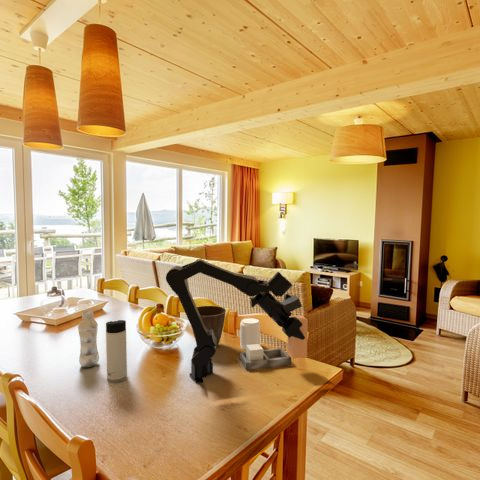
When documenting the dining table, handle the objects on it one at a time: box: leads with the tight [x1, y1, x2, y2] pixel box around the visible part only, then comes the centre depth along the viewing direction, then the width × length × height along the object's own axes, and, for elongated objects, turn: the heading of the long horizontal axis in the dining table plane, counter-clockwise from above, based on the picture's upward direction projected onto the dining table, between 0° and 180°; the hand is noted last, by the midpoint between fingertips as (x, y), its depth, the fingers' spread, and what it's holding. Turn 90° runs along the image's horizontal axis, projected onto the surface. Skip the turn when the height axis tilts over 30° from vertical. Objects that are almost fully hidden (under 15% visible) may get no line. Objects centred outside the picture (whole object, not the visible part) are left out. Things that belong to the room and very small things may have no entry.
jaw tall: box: [286, 315, 309, 359], centre depth 115 cm, size 5×5×13 cm
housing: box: [236, 347, 295, 373], centre depth 122 cm, size 19×11×4 cm, turn 105°
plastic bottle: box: [77, 309, 100, 368], centre depth 120 cm, size 6×7×20 cm
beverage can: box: [239, 317, 261, 351], centre depth 136 cm, size 8×8×12 cm
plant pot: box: [191, 305, 227, 349], centre depth 136 cm, size 15×15×16 cm
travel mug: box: [105, 319, 128, 384], centre depth 110 cm, size 6×7×20 cm
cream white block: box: [245, 344, 264, 361], centre depth 121 cm, size 5×5×6 cm
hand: (301, 335), depth 115 cm, fingers closed on jaw tall, 5 cm apart
